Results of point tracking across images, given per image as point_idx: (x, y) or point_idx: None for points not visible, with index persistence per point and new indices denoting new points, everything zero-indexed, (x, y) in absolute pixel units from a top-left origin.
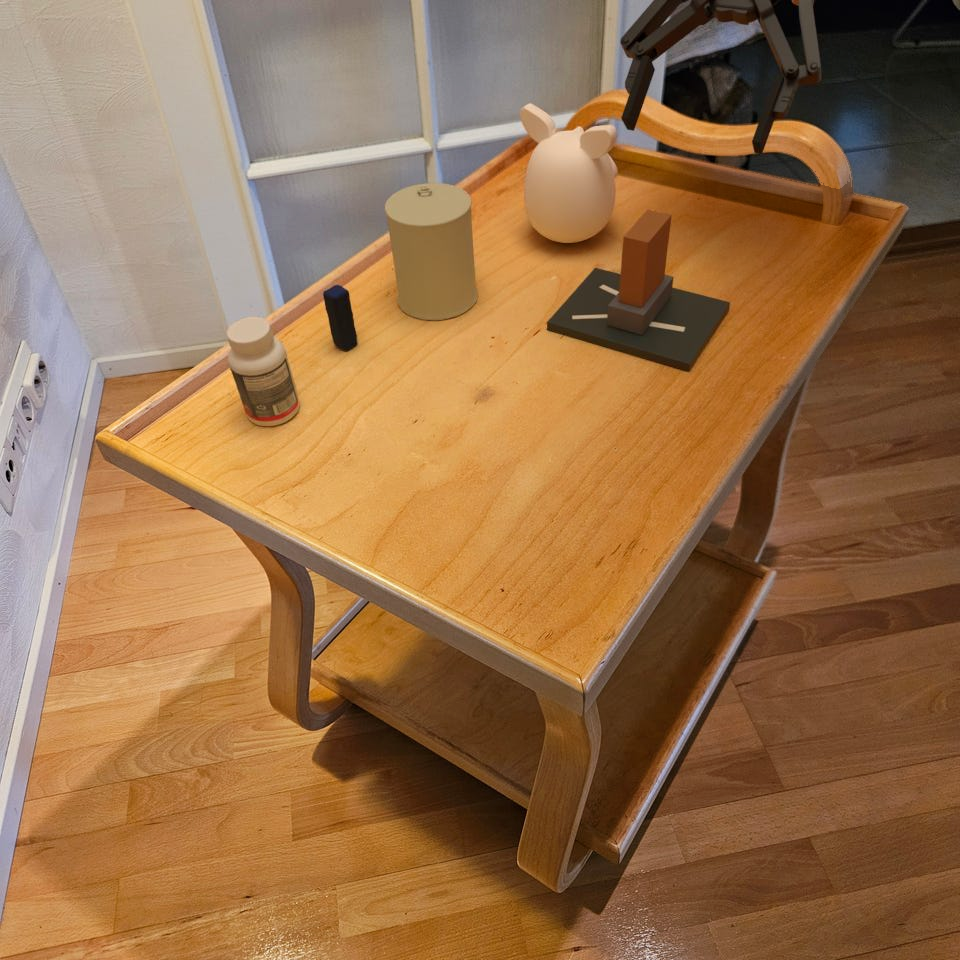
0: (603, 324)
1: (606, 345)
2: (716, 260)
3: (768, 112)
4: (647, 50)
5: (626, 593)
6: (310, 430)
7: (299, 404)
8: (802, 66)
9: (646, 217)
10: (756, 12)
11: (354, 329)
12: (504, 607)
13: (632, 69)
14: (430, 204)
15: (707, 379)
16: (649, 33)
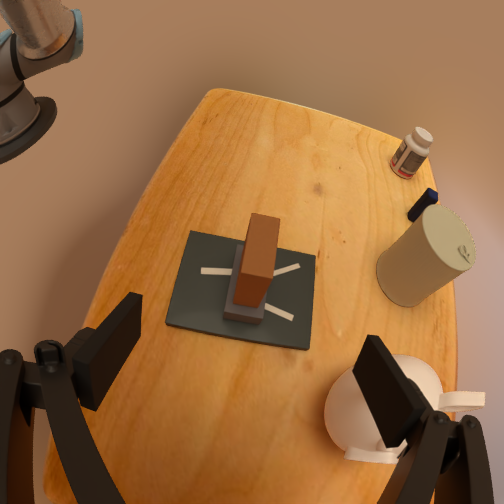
0: None
1: None
2: (191, 413)
3: (111, 317)
4: (426, 421)
5: (202, 107)
6: (377, 159)
7: (393, 169)
8: (31, 381)
9: (268, 259)
10: None
11: (413, 211)
12: (247, 99)
13: (422, 399)
14: (449, 235)
15: (175, 230)
16: (445, 478)
